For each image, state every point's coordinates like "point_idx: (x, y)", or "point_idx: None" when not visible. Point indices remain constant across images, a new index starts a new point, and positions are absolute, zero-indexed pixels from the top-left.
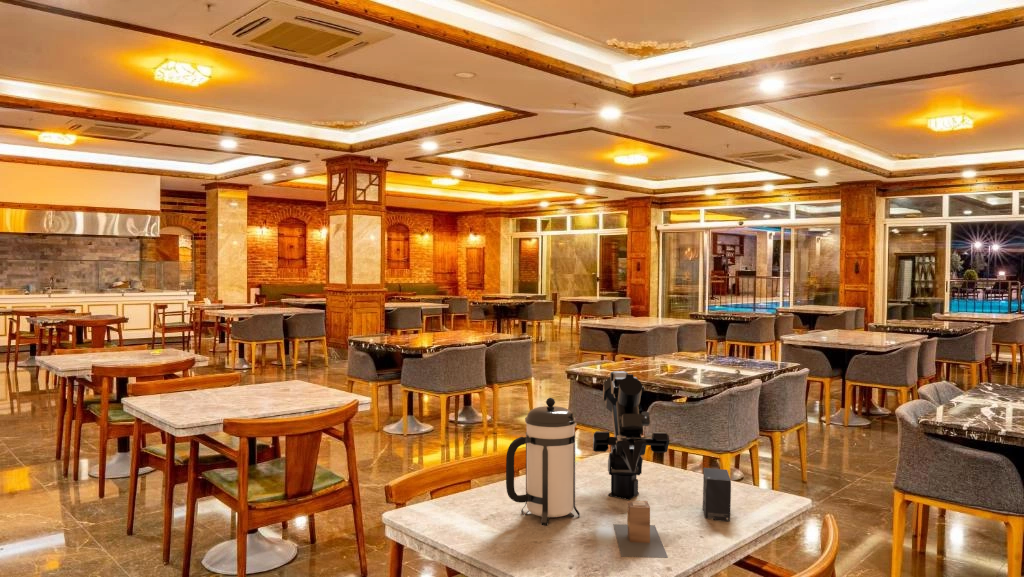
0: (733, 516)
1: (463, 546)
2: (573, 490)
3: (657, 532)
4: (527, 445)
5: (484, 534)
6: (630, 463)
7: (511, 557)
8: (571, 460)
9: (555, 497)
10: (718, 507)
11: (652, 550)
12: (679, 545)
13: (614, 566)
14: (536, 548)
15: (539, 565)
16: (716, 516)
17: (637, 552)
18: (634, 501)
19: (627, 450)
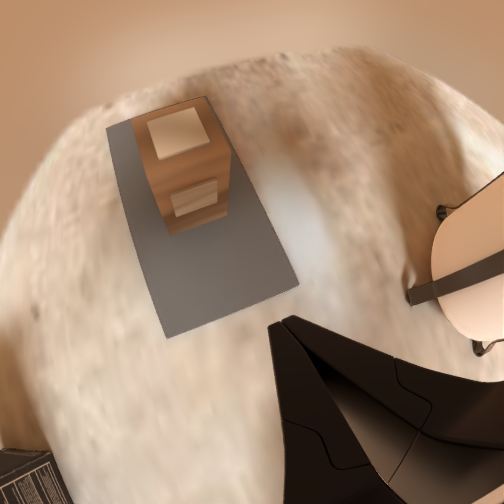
0: None
1: (453, 96)
2: (473, 268)
3: (144, 273)
4: None
5: (471, 140)
6: (331, 340)
7: (382, 70)
8: None
9: (473, 197)
10: (1, 457)
11: None
12: (81, 221)
13: (210, 73)
14: (377, 102)
15: (330, 54)
16: (20, 452)
17: None
18: (199, 143)
19: (448, 408)
